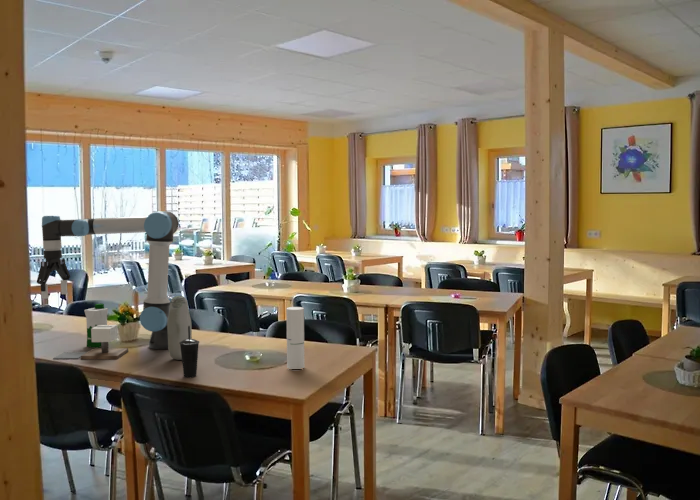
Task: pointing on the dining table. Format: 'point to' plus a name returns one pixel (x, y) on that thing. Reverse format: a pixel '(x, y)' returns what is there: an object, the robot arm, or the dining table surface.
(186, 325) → the grey bottle
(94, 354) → the post stand
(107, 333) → the white drawer box
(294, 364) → the cylindrical container
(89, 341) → the milk carton
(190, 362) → the drinking cup
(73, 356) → the mat
